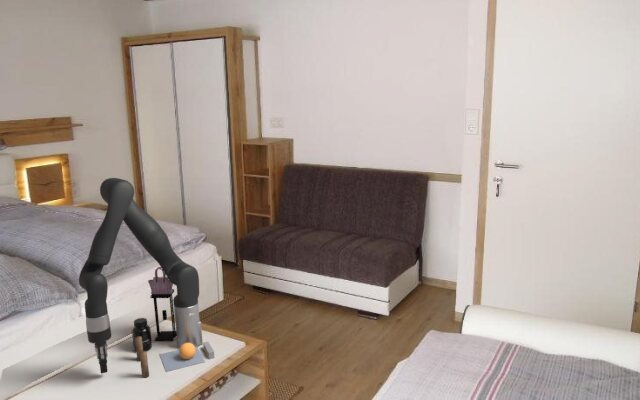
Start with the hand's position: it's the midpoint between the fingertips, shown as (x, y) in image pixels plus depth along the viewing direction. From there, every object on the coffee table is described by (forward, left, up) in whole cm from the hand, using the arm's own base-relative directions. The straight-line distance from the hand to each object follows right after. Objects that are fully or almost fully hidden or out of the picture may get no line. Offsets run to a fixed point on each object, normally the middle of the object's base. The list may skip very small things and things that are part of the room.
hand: (104, 371), depth 185 cm
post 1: (-13, -6, -2) cm, 15 cm away
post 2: (-13, +6, -2) cm, 15 cm away
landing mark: (-27, 0, -2) cm, 27 cm away
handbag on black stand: (-25, -21, -2) cm, 33 cm away
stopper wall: (-37, +1, -2) cm, 37 cm away
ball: (-29, +1, +1) cm, 29 cm away
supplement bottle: (-15, -15, -2) cm, 21 cm away
